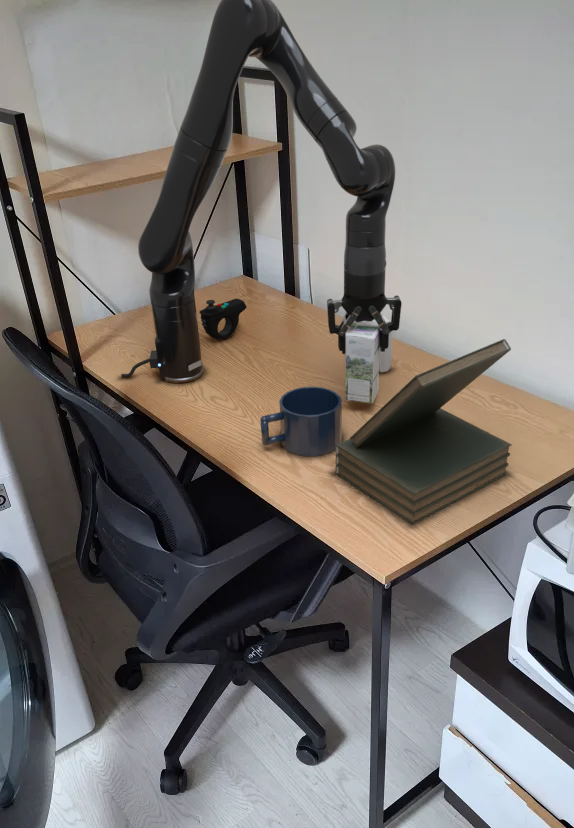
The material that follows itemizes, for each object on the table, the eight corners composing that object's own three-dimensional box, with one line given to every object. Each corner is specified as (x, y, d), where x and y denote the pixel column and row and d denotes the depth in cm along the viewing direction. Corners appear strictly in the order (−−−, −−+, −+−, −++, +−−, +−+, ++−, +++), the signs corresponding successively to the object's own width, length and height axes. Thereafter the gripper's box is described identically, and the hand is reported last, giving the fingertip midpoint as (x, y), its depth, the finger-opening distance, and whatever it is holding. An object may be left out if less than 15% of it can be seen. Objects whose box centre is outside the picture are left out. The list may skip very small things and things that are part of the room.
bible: (427, 431, 150) (437, 306, 135) (507, 474, 137) (528, 342, 122) (335, 473, 139) (335, 343, 124) (412, 525, 126) (422, 386, 111)
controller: (199, 342, 187) (195, 302, 181) (239, 327, 193) (236, 287, 188) (210, 347, 184) (206, 306, 178) (250, 331, 191) (247, 292, 185)
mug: (326, 420, 154) (326, 381, 149) (351, 448, 146) (351, 407, 141) (252, 438, 150) (249, 398, 145) (273, 467, 142) (271, 426, 137)
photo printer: (347, 360, 176) (348, 308, 169) (361, 354, 178) (362, 302, 171) (380, 375, 169) (381, 321, 162) (394, 369, 171) (396, 315, 164)
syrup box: (379, 391, 158) (381, 324, 150) (372, 405, 154) (374, 336, 145) (351, 388, 160) (352, 321, 151) (344, 401, 156) (344, 333, 147)
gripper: (401, 258, 144) (397, 341, 154) (323, 261, 144) (324, 344, 154) (407, 272, 138) (402, 357, 148) (326, 276, 138) (327, 361, 148)
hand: (362, 351), depth 151 cm, fingers closed on syrup box, 7 cm apart
